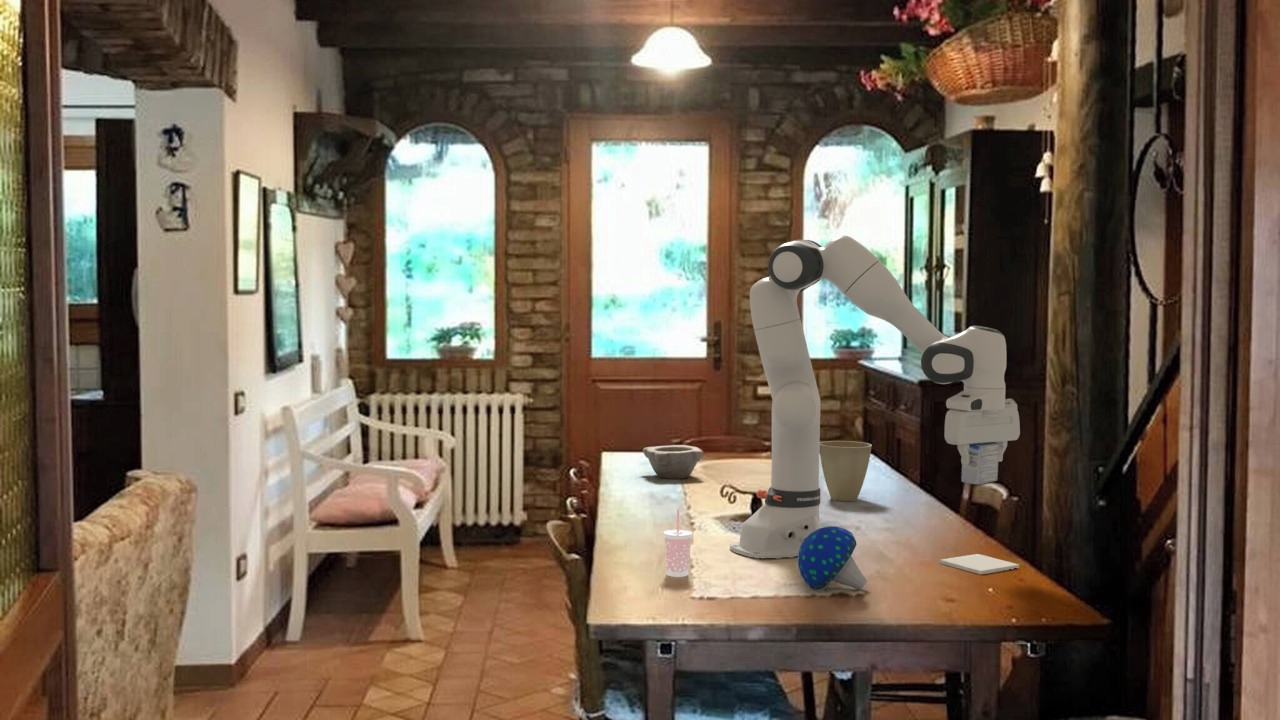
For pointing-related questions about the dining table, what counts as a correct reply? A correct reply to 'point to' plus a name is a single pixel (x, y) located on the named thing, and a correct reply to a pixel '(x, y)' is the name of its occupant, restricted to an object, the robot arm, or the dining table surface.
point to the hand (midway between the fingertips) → (982, 462)
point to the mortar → (673, 460)
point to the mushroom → (829, 559)
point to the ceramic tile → (979, 564)
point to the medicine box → (981, 463)
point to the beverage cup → (677, 551)
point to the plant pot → (844, 467)
